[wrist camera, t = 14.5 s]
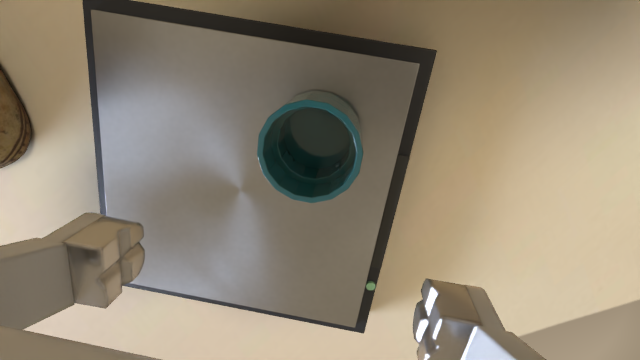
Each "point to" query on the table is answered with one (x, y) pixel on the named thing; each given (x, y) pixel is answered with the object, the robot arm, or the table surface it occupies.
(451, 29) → the table surface
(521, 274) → the table surface
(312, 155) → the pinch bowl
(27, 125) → the ceramic vessel
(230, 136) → the scale
